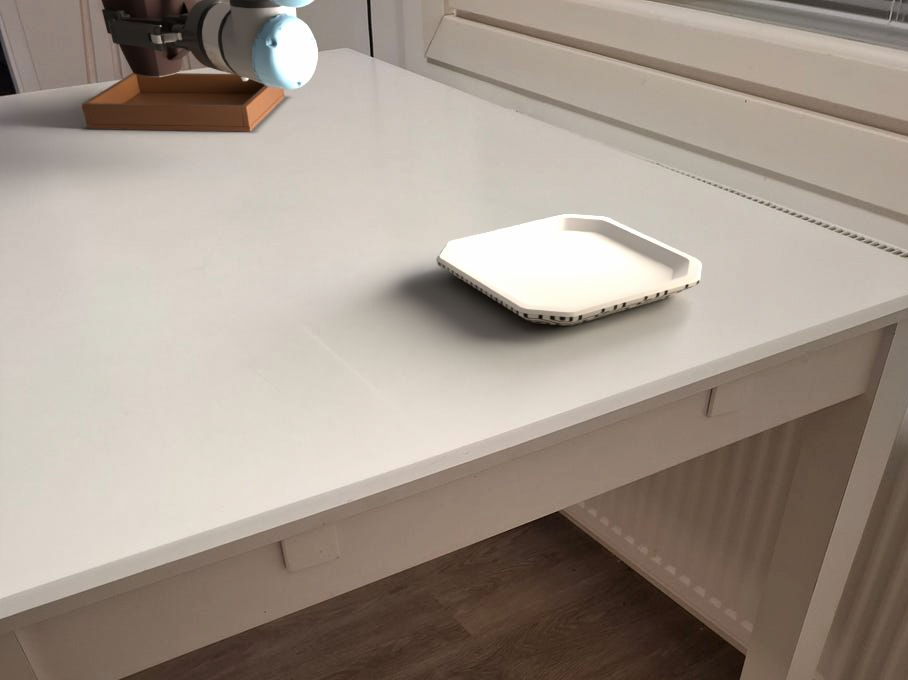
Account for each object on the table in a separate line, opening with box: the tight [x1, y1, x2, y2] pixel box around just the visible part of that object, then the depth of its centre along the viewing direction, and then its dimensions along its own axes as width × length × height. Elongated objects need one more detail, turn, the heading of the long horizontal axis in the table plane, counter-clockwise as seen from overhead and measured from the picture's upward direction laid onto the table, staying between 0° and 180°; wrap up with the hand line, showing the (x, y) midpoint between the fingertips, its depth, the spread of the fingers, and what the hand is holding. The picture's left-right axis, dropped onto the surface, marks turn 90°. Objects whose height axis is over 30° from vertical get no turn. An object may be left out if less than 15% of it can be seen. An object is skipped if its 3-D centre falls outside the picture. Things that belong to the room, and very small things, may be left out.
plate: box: [436, 213, 703, 327], centre depth 86 cm, size 21×21×2 cm
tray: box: [81, 72, 286, 133], centre depth 133 cm, size 24×20×3 cm
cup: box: [101, 0, 198, 77], centre depth 125 cm, size 10×14×12 cm
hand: (142, 15), depth 126 cm, fingers closed on cup, 10 cm apart
